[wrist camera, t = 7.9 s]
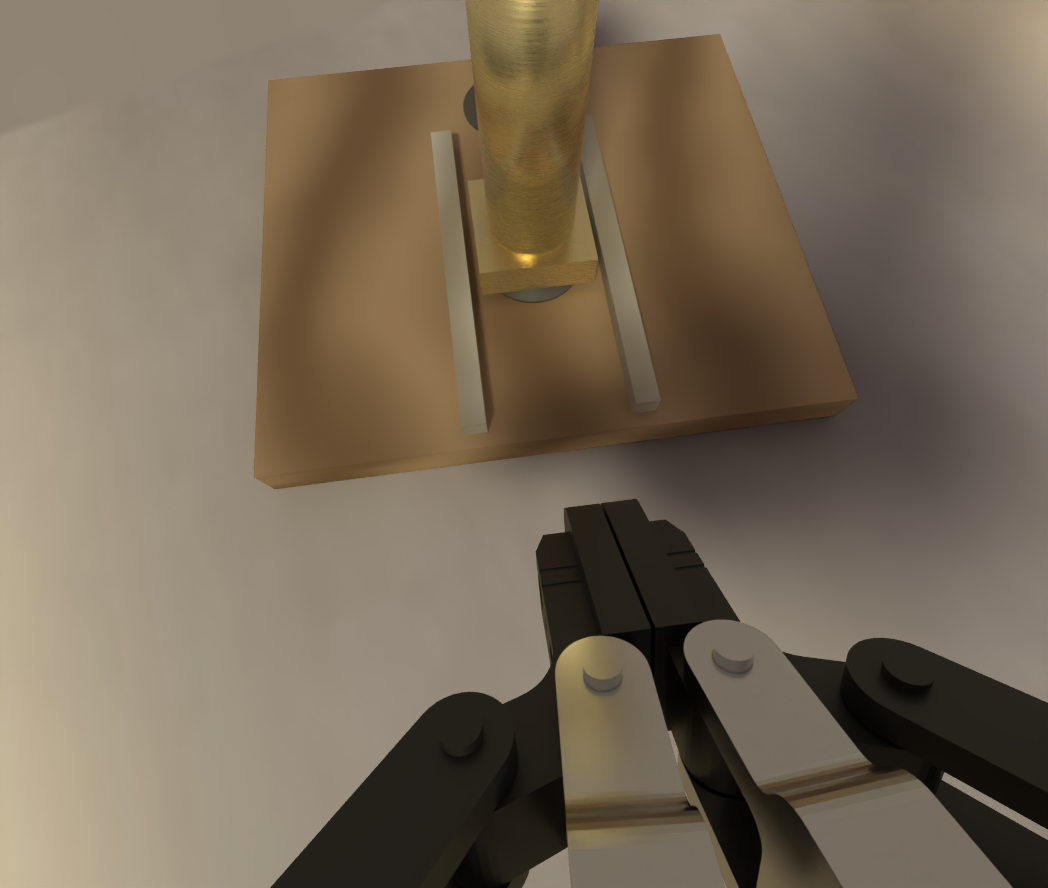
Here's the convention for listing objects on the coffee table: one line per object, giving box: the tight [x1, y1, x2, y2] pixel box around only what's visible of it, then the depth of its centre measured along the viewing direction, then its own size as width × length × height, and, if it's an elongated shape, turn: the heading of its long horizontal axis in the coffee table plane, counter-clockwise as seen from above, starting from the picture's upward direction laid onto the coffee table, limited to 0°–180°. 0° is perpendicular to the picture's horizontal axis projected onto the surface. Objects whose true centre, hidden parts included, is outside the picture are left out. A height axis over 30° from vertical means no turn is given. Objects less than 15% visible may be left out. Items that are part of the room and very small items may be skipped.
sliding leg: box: [465, 0, 599, 295], centre depth 13 cm, size 4×4×13 cm
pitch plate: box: [254, 34, 858, 489], centre depth 21 cm, size 20×18×2 cm
